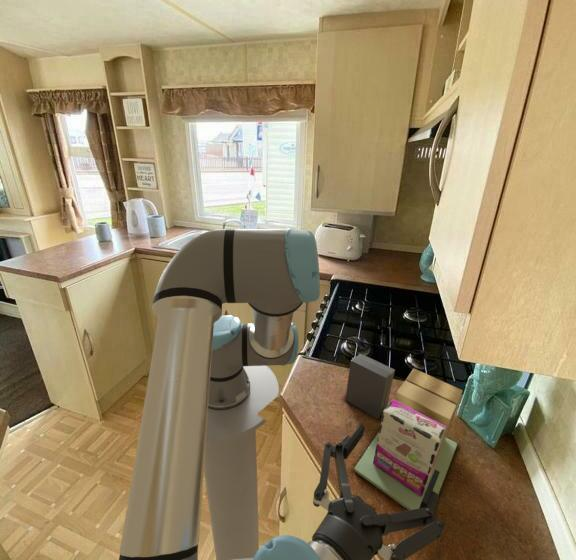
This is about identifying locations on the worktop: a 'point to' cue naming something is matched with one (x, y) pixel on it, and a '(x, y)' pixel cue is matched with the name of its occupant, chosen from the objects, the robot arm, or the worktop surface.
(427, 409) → the cardboard box
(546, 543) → the worktop surface
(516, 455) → the worktop surface
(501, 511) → the worktop surface
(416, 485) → the candy bar box
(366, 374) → the grey box
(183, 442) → the robot arm
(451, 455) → the sage board
